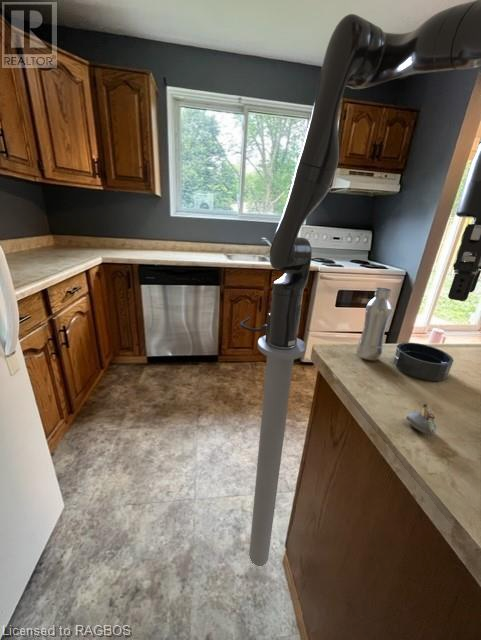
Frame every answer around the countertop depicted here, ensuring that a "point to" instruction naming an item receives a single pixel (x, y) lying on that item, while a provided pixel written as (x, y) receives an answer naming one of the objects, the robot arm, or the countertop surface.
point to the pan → (422, 361)
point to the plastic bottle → (375, 325)
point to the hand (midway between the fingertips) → (461, 295)
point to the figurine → (422, 420)
